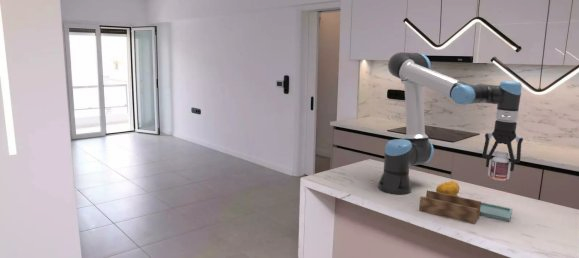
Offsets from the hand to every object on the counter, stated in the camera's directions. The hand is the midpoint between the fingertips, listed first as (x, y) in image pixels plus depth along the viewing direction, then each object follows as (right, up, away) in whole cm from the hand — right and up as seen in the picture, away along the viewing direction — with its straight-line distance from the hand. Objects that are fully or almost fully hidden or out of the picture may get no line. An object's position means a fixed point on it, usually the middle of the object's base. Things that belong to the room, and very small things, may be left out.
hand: (498, 176), depth 163 cm
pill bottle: (0, -1, 0) cm, 1 cm away
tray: (-1, -15, +3) cm, 16 cm away
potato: (-13, -12, +19) cm, 27 cm away
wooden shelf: (-20, -15, +1) cm, 25 cm away
